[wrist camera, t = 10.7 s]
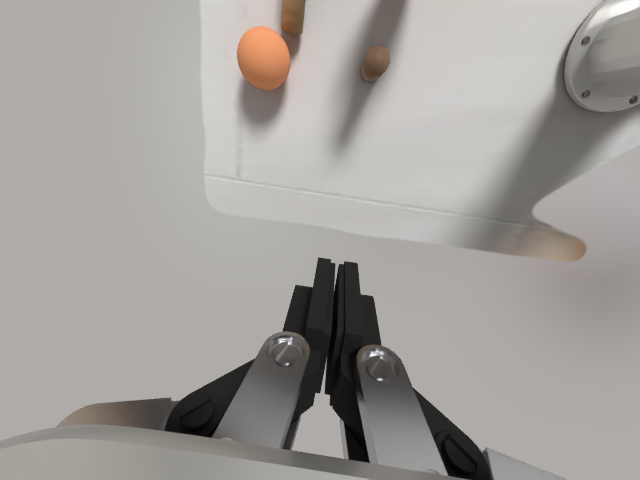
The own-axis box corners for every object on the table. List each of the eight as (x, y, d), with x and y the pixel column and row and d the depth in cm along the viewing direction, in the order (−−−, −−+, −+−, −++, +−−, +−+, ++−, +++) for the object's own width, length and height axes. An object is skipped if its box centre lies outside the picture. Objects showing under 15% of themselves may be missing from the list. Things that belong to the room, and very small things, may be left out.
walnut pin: (382, 60, 31) (392, 46, 24) (378, 83, 32) (387, 76, 25) (362, 59, 31) (366, 44, 24) (359, 82, 32) (363, 75, 25)
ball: (266, 62, 26) (296, 96, 31) (272, 3, 26) (302, 47, 31) (222, 73, 28) (257, 103, 34) (228, 20, 28) (263, 58, 34)
